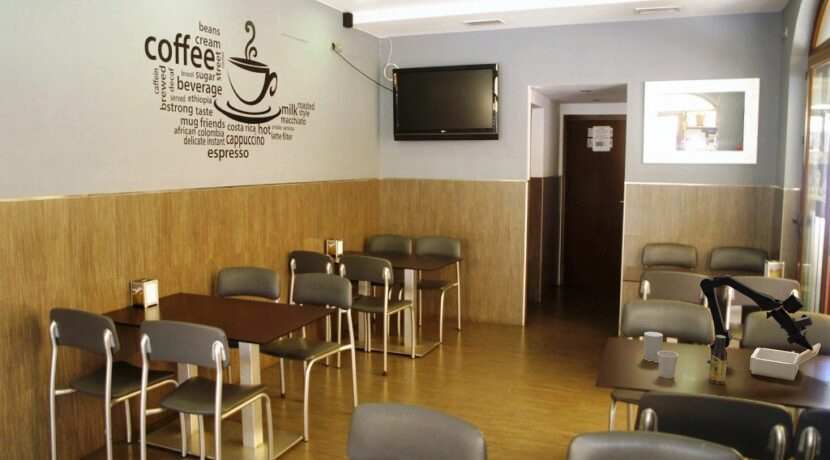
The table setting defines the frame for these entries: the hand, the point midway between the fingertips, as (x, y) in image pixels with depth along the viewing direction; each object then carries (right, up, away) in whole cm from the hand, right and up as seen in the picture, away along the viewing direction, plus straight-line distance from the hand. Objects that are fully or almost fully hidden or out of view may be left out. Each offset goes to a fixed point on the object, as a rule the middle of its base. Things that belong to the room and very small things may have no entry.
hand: (812, 349), depth 288 cm
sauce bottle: (-42, -13, -5) cm, 45 cm away
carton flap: (-1, -2, +1) cm, 2 cm away
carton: (-11, -11, +9) cm, 18 cm away
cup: (-59, -9, +26) cm, 65 cm away
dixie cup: (-60, -12, +3) cm, 62 cm away
